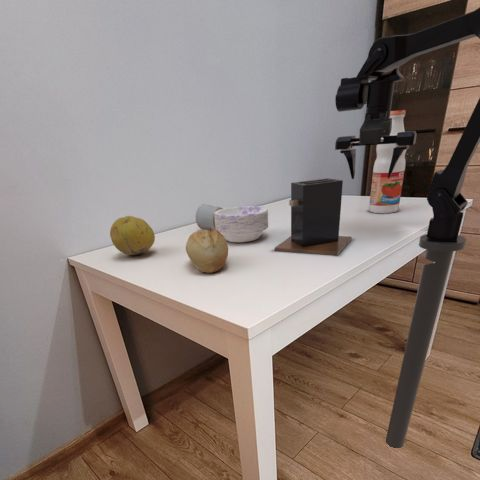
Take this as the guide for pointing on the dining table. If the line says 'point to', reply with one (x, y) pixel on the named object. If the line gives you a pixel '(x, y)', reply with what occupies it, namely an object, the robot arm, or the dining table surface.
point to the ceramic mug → (206, 216)
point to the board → (315, 247)
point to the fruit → (132, 235)
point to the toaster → (315, 211)
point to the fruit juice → (385, 188)
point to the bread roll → (207, 250)
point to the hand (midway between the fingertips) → (370, 178)
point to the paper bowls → (241, 222)
